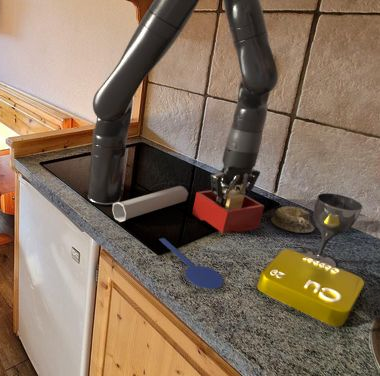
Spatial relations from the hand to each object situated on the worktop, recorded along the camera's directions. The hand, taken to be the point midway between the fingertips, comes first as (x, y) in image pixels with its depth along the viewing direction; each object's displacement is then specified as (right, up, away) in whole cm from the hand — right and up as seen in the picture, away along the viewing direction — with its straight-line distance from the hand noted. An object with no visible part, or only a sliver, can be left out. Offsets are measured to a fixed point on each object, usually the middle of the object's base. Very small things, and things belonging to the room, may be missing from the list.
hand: (227, 207), depth 106 cm
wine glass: (+14, -11, -14) cm, 23 cm away
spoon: (-17, -12, -16) cm, 26 cm away
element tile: (+5, -16, -24) cm, 30 cm away
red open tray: (0, -4, +2) cm, 4 cm away
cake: (+17, -5, +1) cm, 18 cm away
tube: (-18, -1, +7) cm, 19 cm away
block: (0, 0, 0) cm, 0 cm away
